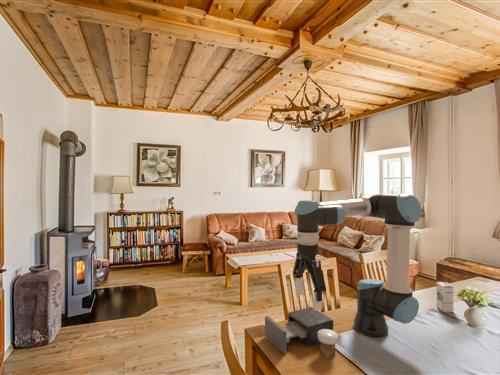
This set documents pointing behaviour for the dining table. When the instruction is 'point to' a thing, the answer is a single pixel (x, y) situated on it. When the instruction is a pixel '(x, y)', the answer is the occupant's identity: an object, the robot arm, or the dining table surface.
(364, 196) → the robot arm
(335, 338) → the disc
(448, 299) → the syrup box
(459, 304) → the dining table surface
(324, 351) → the pedestal
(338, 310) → the dining table surface
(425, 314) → the dining table surface
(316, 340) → the housing
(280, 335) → the grey drawer
